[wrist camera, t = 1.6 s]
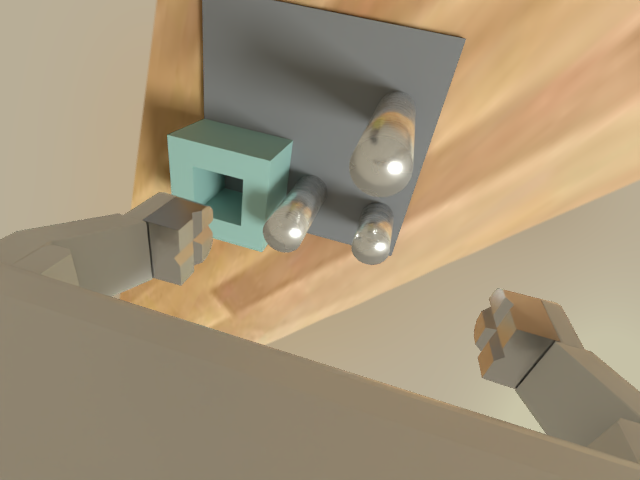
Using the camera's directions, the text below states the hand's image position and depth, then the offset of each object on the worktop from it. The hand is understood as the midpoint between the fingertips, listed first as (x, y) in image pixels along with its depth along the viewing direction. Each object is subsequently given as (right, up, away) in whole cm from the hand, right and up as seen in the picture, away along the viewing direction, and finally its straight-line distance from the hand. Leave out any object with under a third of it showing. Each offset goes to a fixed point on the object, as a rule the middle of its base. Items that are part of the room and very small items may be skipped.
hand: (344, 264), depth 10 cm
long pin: (+6, +11, +19) cm, 23 cm away
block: (-8, +7, +26) cm, 28 cm away
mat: (-2, +10, +23) cm, 25 cm away
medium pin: (-2, +6, +25) cm, 26 cm away
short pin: (+5, +3, +25) cm, 25 cm away
